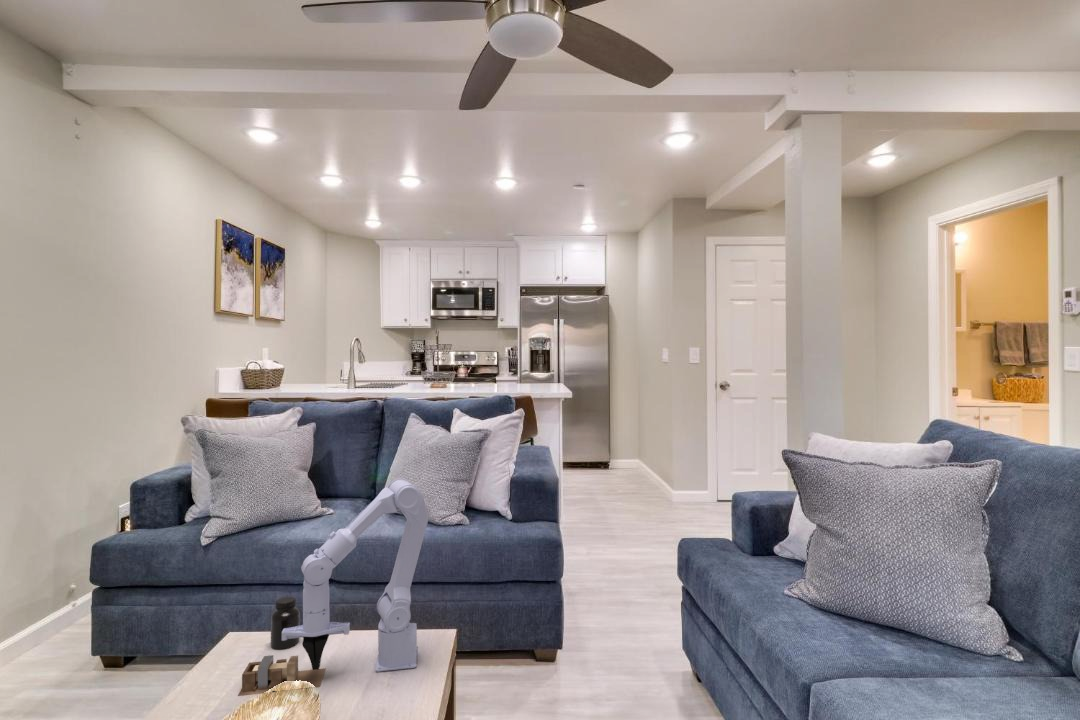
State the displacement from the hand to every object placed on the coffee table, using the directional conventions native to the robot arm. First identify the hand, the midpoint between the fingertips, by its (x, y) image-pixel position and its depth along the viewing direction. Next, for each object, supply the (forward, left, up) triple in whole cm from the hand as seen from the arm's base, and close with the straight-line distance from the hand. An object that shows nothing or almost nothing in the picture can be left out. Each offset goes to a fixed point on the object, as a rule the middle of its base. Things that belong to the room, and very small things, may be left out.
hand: (316, 667), depth 130 cm
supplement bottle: (+11, -19, -3) cm, 22 cm away
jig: (+7, 0, -3) cm, 8 cm away
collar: (+11, 0, -2) cm, 11 cm away
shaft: (+9, 0, -2) cm, 9 cm away
